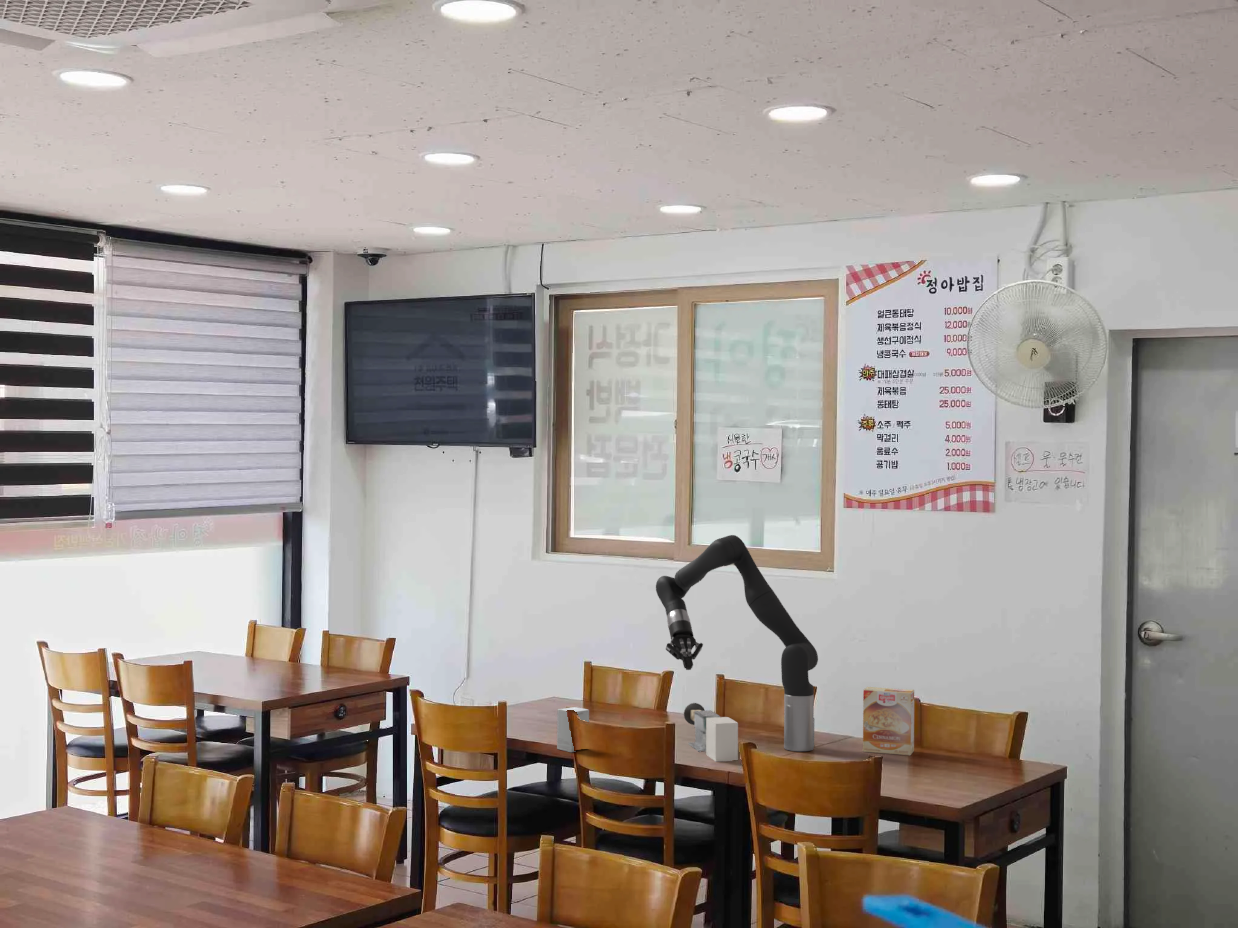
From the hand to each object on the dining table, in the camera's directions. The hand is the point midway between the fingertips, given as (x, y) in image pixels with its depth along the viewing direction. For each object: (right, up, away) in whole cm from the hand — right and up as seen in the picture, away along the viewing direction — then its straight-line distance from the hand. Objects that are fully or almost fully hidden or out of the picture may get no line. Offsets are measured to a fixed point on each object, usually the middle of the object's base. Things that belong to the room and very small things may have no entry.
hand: (689, 668), depth 447 cm
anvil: (+5, -23, -13) cm, 27 cm away
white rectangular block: (+8, -23, -28) cm, 38 cm away
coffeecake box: (+61, -24, -18) cm, 68 cm away
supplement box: (-37, -23, -17) cm, 47 cm away
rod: (+4, -19, -9) cm, 21 cm away
